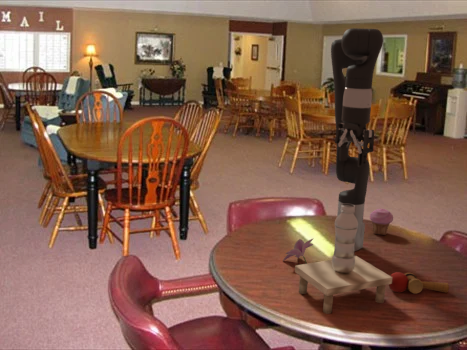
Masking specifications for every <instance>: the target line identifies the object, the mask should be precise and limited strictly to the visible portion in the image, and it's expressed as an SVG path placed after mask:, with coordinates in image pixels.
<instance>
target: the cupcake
mask: <svg viewBox="0 0 467 350" xmlns="http://www.w3.org/2000/svg"><path fill="white" fill-rule="evenodd" d="M369 220H370V222H372V223H371V224H372V233H373V234H375V235H382V236H386V235H387V232H388V228H389V225H390V224H391V223H393V222H394V215H393V213H392V212H391V211H389V210H388V209H386V208H380V207H379V208H376V209H374V210H373V211H372V212H370V214H369Z"/></svg>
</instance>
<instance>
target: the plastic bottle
mask: <svg viewBox="0 0 467 350" xmlns="http://www.w3.org/2000/svg"><path fill="white" fill-rule="evenodd" d="M354 212H355V205H353V204H342V205H341V214H340V215H339V216H338V217H337V216H336V218H335V220H334V231H335V232H334V233H335V234H334V235H335V240H336V241H335V240H334V251H333V255H332V258H331V260H332V267H333V269H334V270H335V271H337V272H340V273H350V272H352V271H353V270H354V267H355V257H354V256H355V251H354V245H355V237H356V233H357V228H358V221H357V219H356V217H355V216H354V214H353V213H354Z"/></svg>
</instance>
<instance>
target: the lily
mask: <svg viewBox="0 0 467 350" xmlns="http://www.w3.org/2000/svg"><path fill="white" fill-rule="evenodd" d="M313 240H314V238H311V239H309V240H307V241H304V240H303V239H301V238H299V239H298V240H297V241H296V242H295V243H294V245H293V248H292V249H290V250H289V251H287V252H286V253H285V257H284V258H283V260H282V261H283V262H284V261H286V260H288V259H289V258H292V257H293V256H294V257H296V258H297V259H299V258H300V257H302V258H303V259H304V262H305V264H308V263H307V261H306V258H305V252H306V249H308V248H310V247H312V246H313V245H314V244H313V243H311V242H312V241H313Z"/></svg>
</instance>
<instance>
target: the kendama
mask: <svg viewBox="0 0 467 350" xmlns="http://www.w3.org/2000/svg"><path fill="white" fill-rule="evenodd" d="M389 276H391V277H392V284H388V287H389V289H390V290H391V291H392V292H394V293H404V292H406V291H409V292H410V293H412V294H419V293H421V292H422V291H423V289H427V290H430V291H436V292H439V293H444V294H445V293H446V294H447V293H448V292H449V289H450V285H449V283H448V282H438V281H437V282H435V281H421V279H419V278H418V277H417V276H416V274H414V273H412V272H405V273H403V272H399V271H397V272H393V273H391V274H390V275H389Z"/></svg>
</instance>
